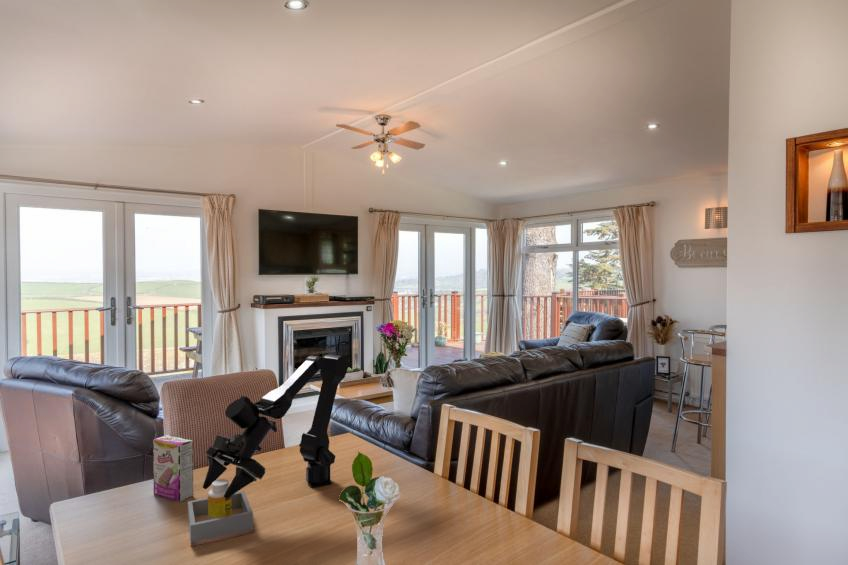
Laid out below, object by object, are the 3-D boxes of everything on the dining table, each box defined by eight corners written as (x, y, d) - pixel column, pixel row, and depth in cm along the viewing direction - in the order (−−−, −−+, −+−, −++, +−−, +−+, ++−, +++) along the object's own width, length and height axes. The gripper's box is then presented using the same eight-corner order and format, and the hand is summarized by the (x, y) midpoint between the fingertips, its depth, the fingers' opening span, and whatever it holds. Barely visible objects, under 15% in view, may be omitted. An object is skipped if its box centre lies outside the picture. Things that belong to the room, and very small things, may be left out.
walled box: (244, 509, 138) (244, 490, 138) (252, 532, 126) (252, 512, 126) (187, 520, 132) (187, 501, 131) (190, 546, 119) (190, 525, 119)
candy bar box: (152, 495, 146) (151, 439, 146) (167, 488, 151) (167, 434, 150) (179, 503, 142) (179, 444, 141) (194, 496, 146) (194, 439, 146)
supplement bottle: (227, 527, 126) (227, 486, 126) (204, 527, 126) (204, 486, 126) (234, 516, 132) (234, 477, 131) (213, 517, 131) (213, 477, 131)
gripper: (212, 415, 137) (172, 469, 128) (255, 428, 126) (214, 487, 117) (238, 437, 143) (201, 489, 135) (281, 450, 132) (244, 508, 124)
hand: (214, 493), depth 127 cm, fingers open, 9 cm apart
